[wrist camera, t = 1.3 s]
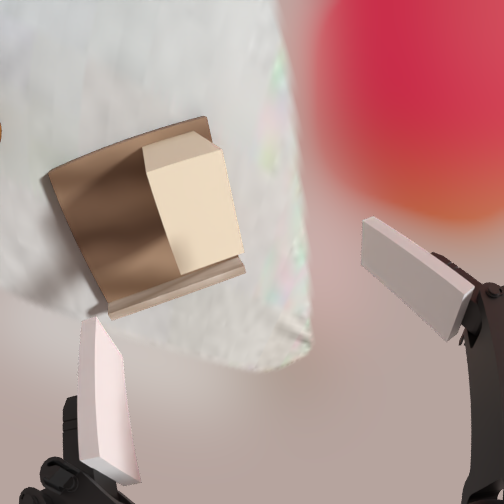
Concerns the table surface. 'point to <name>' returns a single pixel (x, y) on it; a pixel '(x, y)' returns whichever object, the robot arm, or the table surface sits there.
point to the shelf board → (129, 225)
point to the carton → (193, 200)
